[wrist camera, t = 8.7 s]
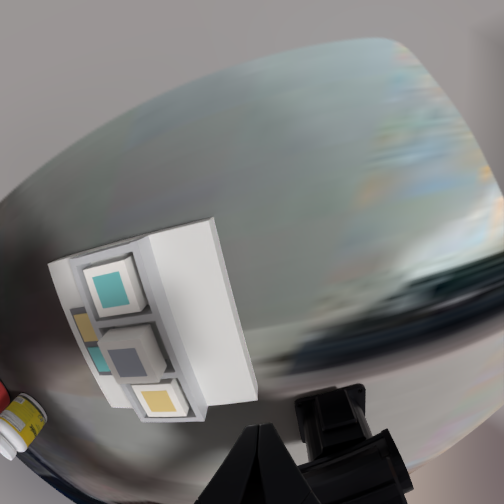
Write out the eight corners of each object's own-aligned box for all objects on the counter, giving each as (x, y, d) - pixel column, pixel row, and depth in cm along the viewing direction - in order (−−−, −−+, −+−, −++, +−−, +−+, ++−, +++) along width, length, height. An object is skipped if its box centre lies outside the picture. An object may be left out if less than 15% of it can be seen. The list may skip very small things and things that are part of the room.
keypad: (257, 385, 23) (257, 416, 19) (119, 395, 24) (104, 419, 20) (213, 216, 19) (202, 224, 16) (61, 257, 20) (33, 270, 17)
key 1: (151, 299, 19) (140, 311, 17) (112, 306, 19) (99, 317, 17) (136, 252, 18) (123, 260, 16) (97, 262, 18) (82, 270, 16)
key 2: (191, 400, 21) (186, 416, 19) (155, 401, 21) (148, 417, 19) (177, 368, 20) (170, 384, 18) (139, 370, 20) (130, 385, 18)
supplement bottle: (46, 426, 26) (16, 468, 17) (19, 402, 26) (-14, 440, 16) (50, 411, 25) (15, 457, 16) (20, 385, 25) (-18, 425, 15)
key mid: (166, 365, 18) (158, 382, 16) (127, 368, 19) (117, 384, 17) (150, 324, 18) (139, 338, 16) (109, 329, 18) (96, 342, 16)
